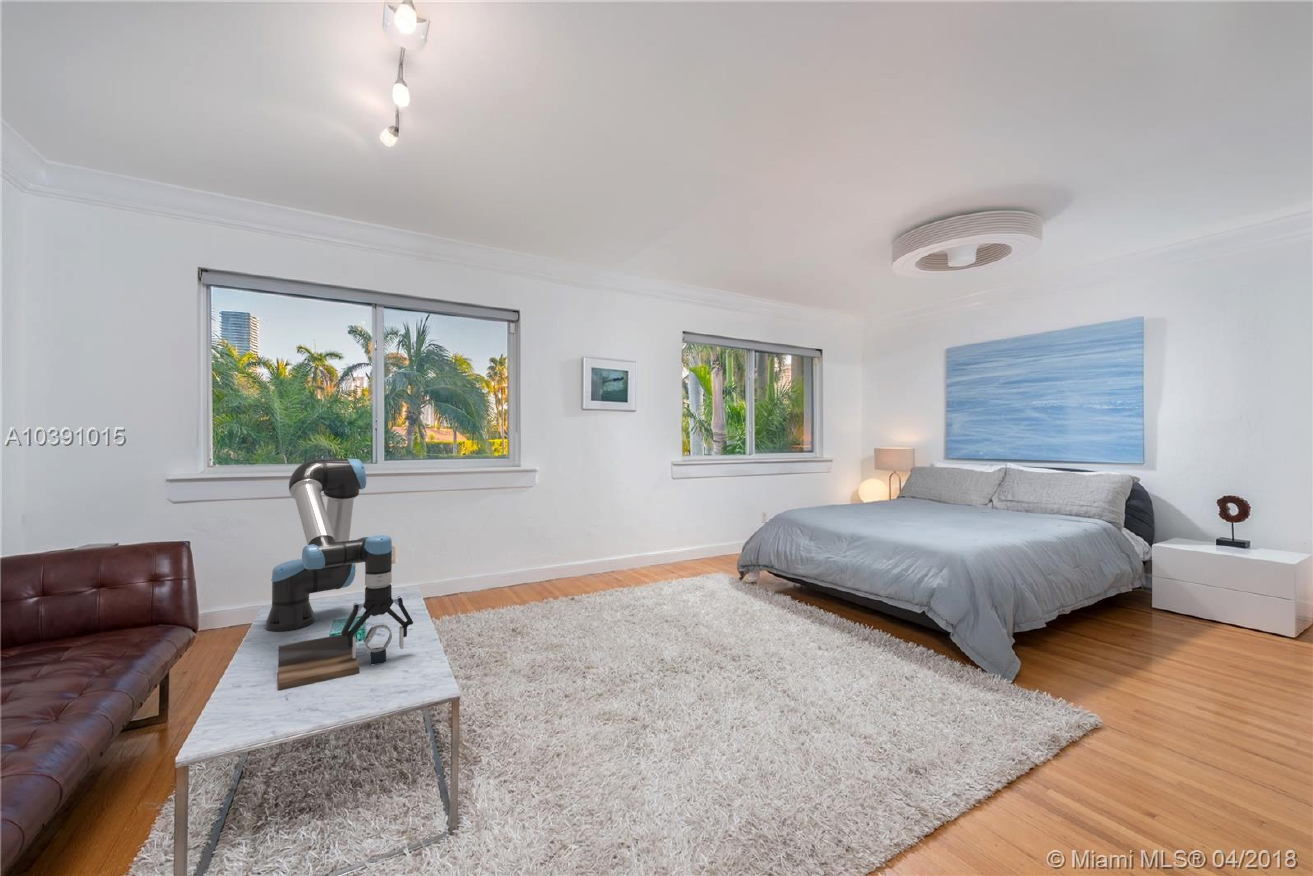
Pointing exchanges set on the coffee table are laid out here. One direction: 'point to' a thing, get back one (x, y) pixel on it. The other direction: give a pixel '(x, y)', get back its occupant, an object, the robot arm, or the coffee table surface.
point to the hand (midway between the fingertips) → (378, 652)
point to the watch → (379, 653)
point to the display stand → (315, 661)
